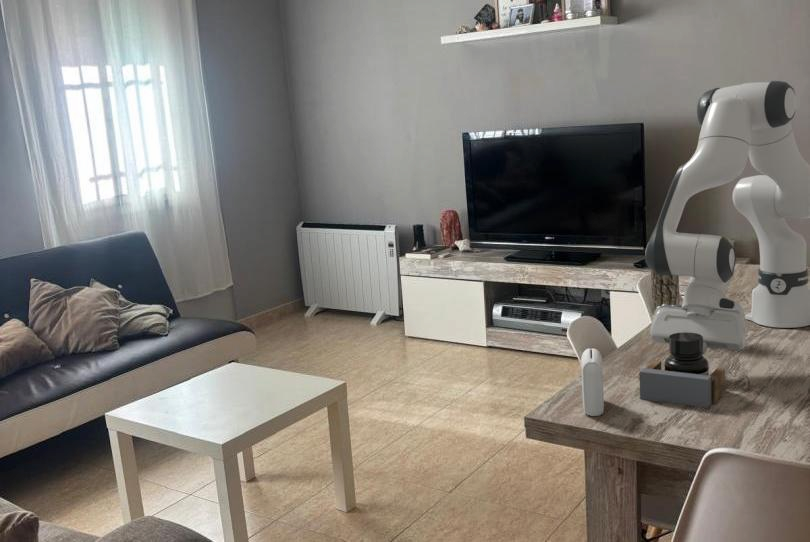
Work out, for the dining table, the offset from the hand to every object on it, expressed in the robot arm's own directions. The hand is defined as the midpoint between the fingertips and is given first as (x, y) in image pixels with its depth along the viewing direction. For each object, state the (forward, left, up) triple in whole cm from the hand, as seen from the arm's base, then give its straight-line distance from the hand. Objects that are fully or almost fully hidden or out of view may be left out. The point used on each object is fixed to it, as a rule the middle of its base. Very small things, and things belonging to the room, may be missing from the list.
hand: (690, 362), depth 179 cm
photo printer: (+21, -14, -5) cm, 26 cm away
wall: (+12, 0, -5) cm, 13 cm away
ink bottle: (+5, +1, -5) cm, 7 cm away
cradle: (+6, 0, -5) cm, 7 cm away
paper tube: (-33, -16, -5) cm, 36 cm away
